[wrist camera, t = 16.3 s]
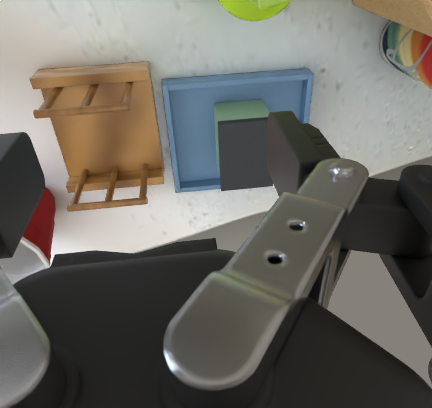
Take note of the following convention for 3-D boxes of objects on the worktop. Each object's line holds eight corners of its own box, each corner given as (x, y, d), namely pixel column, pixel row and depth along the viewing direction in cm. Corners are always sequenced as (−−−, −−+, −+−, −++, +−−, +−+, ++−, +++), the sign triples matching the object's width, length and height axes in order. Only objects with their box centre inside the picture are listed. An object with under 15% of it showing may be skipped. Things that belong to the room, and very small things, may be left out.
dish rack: (73, 179, 45) (56, 223, 38) (38, 69, 37) (8, 100, 30) (164, 170, 46) (163, 212, 39) (148, 61, 38) (144, 89, 31)
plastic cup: (-41, 185, 44) (-100, 256, 34) (34, 147, 42) (-5, 210, 32) (24, 245, 50) (-10, 319, 40) (92, 214, 48) (74, 283, 39)
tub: (215, 163, 45) (221, 191, 40) (212, 101, 41) (218, 124, 36) (261, 159, 45) (272, 186, 41) (263, 97, 41) (276, 119, 36)
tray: (175, 184, 47) (175, 193, 45) (162, 79, 39) (161, 85, 37) (297, 172, 48) (301, 181, 46) (308, 68, 40) (314, 73, 38)
